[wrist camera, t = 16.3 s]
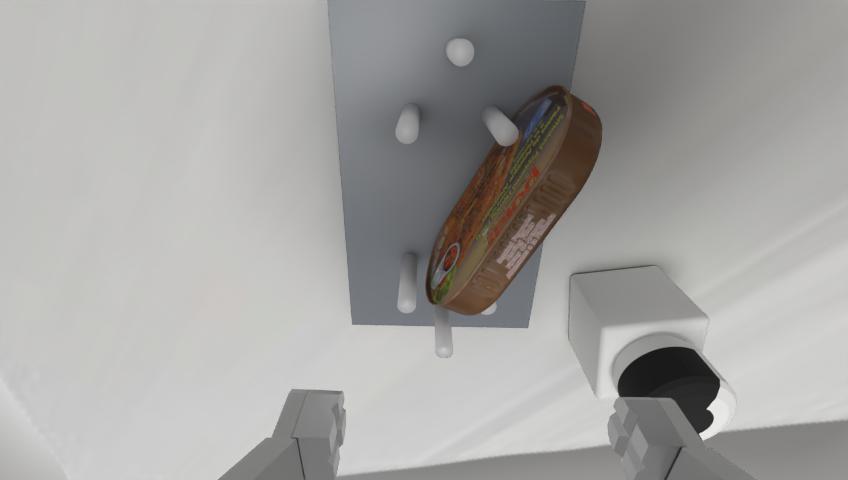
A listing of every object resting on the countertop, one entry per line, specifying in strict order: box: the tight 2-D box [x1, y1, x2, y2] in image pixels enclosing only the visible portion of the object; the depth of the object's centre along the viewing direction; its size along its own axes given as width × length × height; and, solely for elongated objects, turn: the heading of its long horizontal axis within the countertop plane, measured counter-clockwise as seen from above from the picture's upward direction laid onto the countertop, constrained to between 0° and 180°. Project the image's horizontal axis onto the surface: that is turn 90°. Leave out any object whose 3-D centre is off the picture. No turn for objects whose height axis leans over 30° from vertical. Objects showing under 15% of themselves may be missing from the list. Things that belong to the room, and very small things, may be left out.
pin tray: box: [327, 0, 586, 358], centre depth 26 cm, size 15×24×8 cm, turn 179°
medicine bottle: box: [569, 266, 737, 441], centre depth 29 cm, size 7×7×12 cm
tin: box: [425, 85, 602, 316], centre depth 25 cm, size 15×3×8 cm, turn 151°
